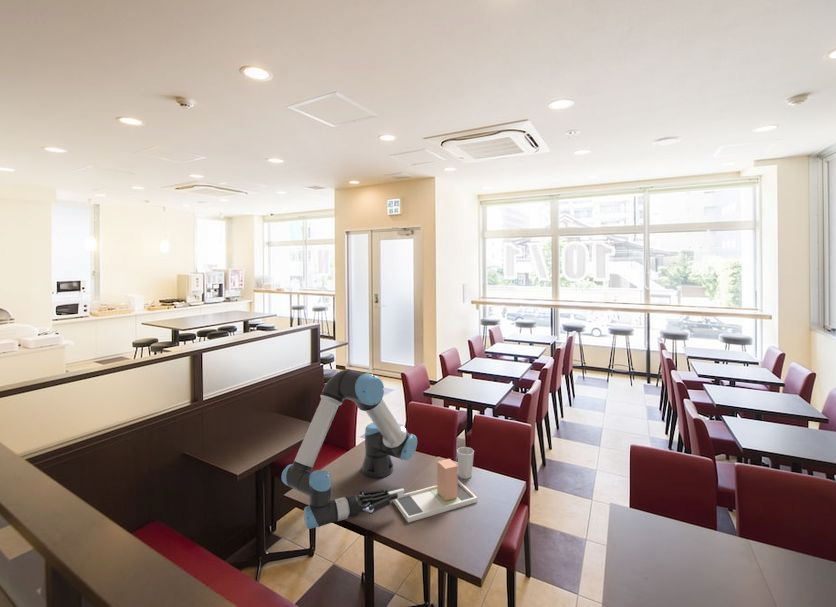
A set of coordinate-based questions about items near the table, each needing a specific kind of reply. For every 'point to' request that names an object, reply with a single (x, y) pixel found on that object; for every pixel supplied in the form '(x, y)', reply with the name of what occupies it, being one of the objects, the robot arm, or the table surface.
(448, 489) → the block
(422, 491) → the sorting tray
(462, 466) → the cup
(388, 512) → the table surface
